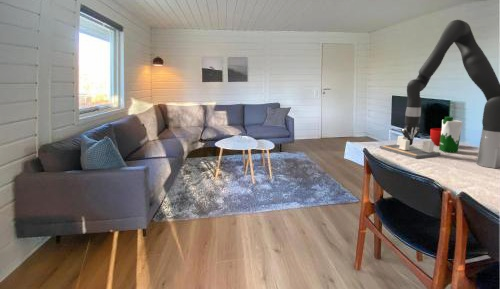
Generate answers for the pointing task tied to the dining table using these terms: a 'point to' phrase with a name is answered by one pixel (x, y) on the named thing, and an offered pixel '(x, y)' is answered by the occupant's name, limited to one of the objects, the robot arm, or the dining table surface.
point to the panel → (410, 151)
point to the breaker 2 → (428, 146)
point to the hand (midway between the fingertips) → (409, 144)
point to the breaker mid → (404, 144)
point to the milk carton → (450, 135)
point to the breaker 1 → (399, 139)
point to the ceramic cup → (435, 135)
